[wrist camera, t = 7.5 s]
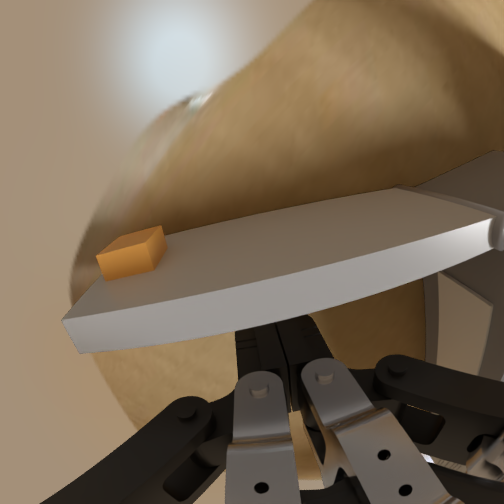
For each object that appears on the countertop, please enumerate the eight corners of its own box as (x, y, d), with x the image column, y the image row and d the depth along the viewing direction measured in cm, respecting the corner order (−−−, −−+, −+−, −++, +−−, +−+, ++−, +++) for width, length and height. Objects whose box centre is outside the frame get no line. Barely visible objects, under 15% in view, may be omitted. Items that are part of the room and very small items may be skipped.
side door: (140, 266, 11) (78, 361, 5) (127, 225, 11) (42, 293, 5) (408, 207, 12) (510, 246, 6) (406, 168, 11) (514, 188, 5)
